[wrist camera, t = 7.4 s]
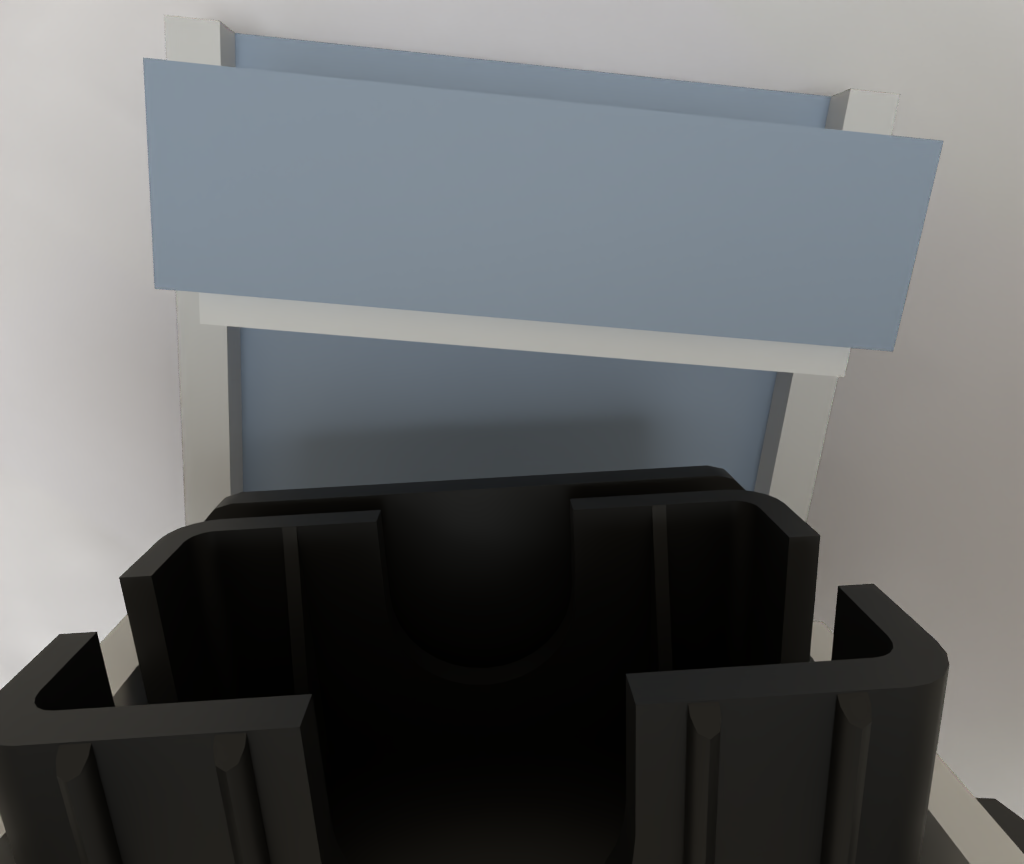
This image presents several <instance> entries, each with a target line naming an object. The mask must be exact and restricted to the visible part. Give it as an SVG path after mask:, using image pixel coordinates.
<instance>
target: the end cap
mask: <svg viewBox="0 0 1024 864" xmlns="http://www.w3.org/2000/svg"><path fill="white" fill-rule="evenodd" d="M819 543H820V535H819V534H818V533H817V532H816V531H815V530H813V529H812V528H811V527H810V526H809V525H808V524H807V523H806V522H805V521H803V520H802V519H801V518H800V517H799V516H798V515H797V514H796V513H795V512H794V511H792V510H791V509H790V508H789V507H788V506H787V505H786V504H785V503H783V502H782V501H780V500H779V499H777V498H775V497H772V496H770V495H767V494H763V493H759V492H754V491H746V490H745V489H744V488H743V487H742V486H741V485H740V484H739V483H738V482H737V481H736V480H735V479H734V478H733V477H732V476H731V475H730V474H729V473H728V472H727V471H726V470H725V469H723V468H718V467H713V466H709V465H704V466H687V467H669V468H652V469H634V470H617V471H599V472H582V473H565V474H547V475H530V476H512V477H495V478H478V479H460V480H443V481H425V482H408V483H390V484H373V485H356V486H338V487H321V488H303V489H286V490H269V491H251V492H240V493H237V494H234V495H231V496H228V497H225V498H224V499H223V500H222V501H221V502H220V503H219V504H218V505H217V506H216V508H215V509H214V510H213V511H212V512H211V513H210V515H209V516H208V517H207V518H206V519H205V521H204V522H199V523H195V524H191V525H188V526H185V527H182V528H179V529H177V530H175V531H173V532H170V533H168V534H167V535H165V536H164V537H162V538H161V539H160V540H159V541H157V542H156V543H155V544H154V545H153V546H152V547H151V548H150V549H149V550H148V551H147V552H146V553H145V554H144V555H143V556H142V557H141V558H139V559H138V560H137V561H136V562H135V563H134V564H133V565H132V566H131V567H130V568H129V569H128V570H127V571H126V572H125V573H124V574H123V575H122V576H120V577H119V579H120V583H121V588H122V592H123V596H124V601H125V605H126V609H127V614H128V618H129V623H130V627H131V631H132V636H133V640H134V645H135V649H136V653H137V658H138V662H139V667H140V671H141V675H142V680H143V684H144V688H145V693H146V697H147V702H148V705H134V706H118V707H115V704H114V700H113V696H112V692H111V688H110V684H109V680H108V676H107V672H106V667H105V663H104V659H103V655H102V651H101V647H100V643H99V639H98V635H97V632H87V633H71V634H59V635H58V636H57V637H56V638H55V639H54V640H53V641H52V642H51V643H50V644H49V645H48V646H47V647H45V648H44V649H43V650H42V651H41V652H40V653H39V654H38V655H37V656H36V657H35V658H34V659H33V660H32V661H31V662H30V663H29V664H28V665H26V666H25V667H24V668H23V669H22V670H21V671H20V672H19V673H18V674H17V675H16V676H15V677H14V678H13V679H12V680H11V681H10V682H9V683H7V684H6V685H5V686H4V687H3V688H2V689H1V690H0V815H1V818H2V822H3V825H4V828H5V831H6V834H7V837H8V841H9V844H10V847H11V850H12V853H13V857H14V860H15V863H16V864H920V858H921V851H922V844H923V838H924V831H925V824H926V818H927V811H928V804H929V797H930V791H931V784H932V777H933V771H934V764H935V757H936V751H937V744H938V737H939V731H940V724H941V717H942V710H943V704H944V697H945V690H946V684H947V677H948V670H949V662H948V657H947V653H946V652H945V650H944V649H943V648H942V647H941V646H940V644H939V643H938V642H937V641H936V640H935V639H934V638H933V637H932V636H931V635H930V634H929V633H927V632H926V631H925V630H924V629H923V628H922V627H921V626H920V625H919V624H917V623H916V622H915V621H914V620H913V619H912V618H911V617H910V616H909V615H908V614H906V613H905V612H904V611H903V610H902V609H901V608H900V607H899V606H898V605H896V604H895V603H894V602H893V601H892V600H891V599H890V598H889V597H888V596H886V595H885V594H884V593H883V592H882V591H881V590H880V589H879V588H878V587H877V586H875V585H874V584H863V585H847V586H838V593H837V604H836V615H835V625H834V636H833V646H832V657H831V661H816V662H810V650H811V638H812V626H813V614H814V603H815V591H816V579H817V567H818V555H819Z"/></svg>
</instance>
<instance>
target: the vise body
mask: <svg viewBox="0 0 1024 864" xmlns="http://www.w3.org/2000/svg"><path fill="white" fill-rule="evenodd" d="M164 27H165V51H166V60H160V59H150V58H143V64H144V84H145V104H146V124H147V144H148V164H149V184H150V203H151V223H152V243H153V263H154V283H155V289H166V290H176V311H177V334H178V358H179V381H180V405H181V429H182V452H183V476H184V500H185V523H186V526H188V525H191V524H195V523H199V522H204V521H205V519H206V518H207V517H208V516H209V515H210V513H211V512H212V511H213V510H214V509H215V508H216V506H217V505H218V504H219V503H220V502H221V501H222V500H223V499H224V498H225V497H228V496H231V495H234V494H237V493H240V492H251V491H269V490H286V489H303V488H321V487H338V486H356V485H373V484H390V483H408V482H425V481H443V480H460V479H478V478H495V477H512V476H530V475H547V474H565V473H582V472H599V471H617V470H634V469H652V468H669V467H687V466H704V465H709V466H713V467H718V468H723V469H725V470H726V471H727V472H728V473H729V474H730V475H731V476H732V477H733V478H734V479H735V480H736V481H737V482H738V483H739V484H740V485H741V486H742V487H743V488H744V489H745V490H746V491H754V492H759V493H763V494H767V495H770V496H772V497H775V498H777V499H779V500H780V501H782V502H783V503H785V504H786V505H787V506H788V507H789V508H790V509H791V510H792V511H794V512H795V513H796V514H797V515H798V516H799V517H800V518H801V519H802V520H803V521H805V522H806V521H807V517H808V512H809V508H810V503H811V498H812V494H813V489H814V485H815V480H816V476H817V471H818V467H819V462H820V458H821V453H822V448H823V444H824V439H825V435H826V430H827V426H828V421H829V417H830V412H831V407H832V403H833V398H834V394H835V389H836V385H837V380H838V377H845V373H846V368H847V364H848V359H849V355H850V350H851V348H858V349H870V350H882V351H893V350H894V346H895V341H896V337H897V333H898V329H899V325H900V321H901V316H902V312H903V308H904V304H905V300H906V295H907V291H908V287H909V283H910V279H911V275H912V270H913V266H914V262H915V258H916V254H917V249H918V245H919V241H920V237H921V233H922V229H923V224H924V220H925V216H926V212H927V208H928V203H929V199H930V195H931V191H932V187H933V183H934V178H935V174H936V170H937V166H938V162H939V157H940V153H941V149H942V145H943V141H940V140H930V139H921V138H911V137H901V136H892V135H891V134H892V130H893V125H894V121H895V116H896V112H897V107H898V103H899V98H900V94H895V93H886V92H876V91H867V90H858V89H849V90H846V91H844V92H841V93H839V94H836V95H834V96H831V97H829V96H820V95H811V94H801V93H792V92H783V91H773V90H764V89H754V88H745V87H736V86H726V85H717V84H708V83H698V82H689V81H679V80H670V79H661V78H651V77H642V76H633V75H623V74H614V73H604V72H595V71H586V70H576V69H567V68H558V67H548V66H539V65H529V64H520V63H511V62H501V61H492V60H483V59H473V58H464V57H454V56H445V55H436V54H426V53H417V52H408V51H398V50H389V49H379V48H370V47H361V46H351V45H342V44H333V43H323V42H314V41H304V40H295V39H286V38H276V37H267V36H258V35H248V34H239V33H234V32H233V31H232V30H230V29H229V28H228V27H227V26H225V25H224V24H223V23H222V22H220V21H216V20H207V19H197V18H188V17H179V16H169V15H164Z"/></svg>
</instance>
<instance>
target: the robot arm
mask: <svg viewBox="0 0 1024 864" xmlns="http://www.w3.org/2000/svg"><path fill="white" fill-rule="evenodd" d="M833 636H834V634H833V633H832V632H831V631H830V630H829V628H828V627H827V626H826V625H825V624H824V623H823V622H815V621H813V626H812V638H811V650H810V662H816V661H831V657H832V646H833ZM100 647H101V651H102V655H103V659H104V663H105V667H106V672H107V676H108V680H109V684H110V688H111V692H112V696H113V700H114V704H115V707H118V706H134V705H148V702H147V697H146V693H145V688H144V684H143V680H142V675H141V671H140V667H139V662H138V658H137V653H136V649H135V645H134V640H133V636H132V631H131V627H130V623H129V618H128V614H127V615H126V616H125V617H124V618H123V619H122V620H121V621H120V623H119V624H118V625H117V626H116V627H115V628H114V629H113V630H112V631H111V632H110V633H109V634H108V635H107V637H106V638H105V639H104V640H103V641H102V642H101V643H100ZM0 864H16V863H15V860H14V857H13V853H12V850H11V847H10V844H9V841H8V837H7V834H6V831H5V828H4V825H3V822H2V818H1V815H0ZM920 864H1024V820H1023V819H1022V818H1020V817H1019V816H1018V815H1016V814H1015V813H1014V812H1012V811H1011V810H1010V809H1008V808H1007V807H1006V806H1004V805H1003V804H1001V803H1000V802H999V801H997V800H996V799H989V798H975V797H974V796H973V795H972V794H971V792H970V791H969V790H968V789H967V788H966V787H965V786H964V784H963V783H962V782H961V781H960V780H959V779H958V777H957V776H956V775H955V774H954V773H953V772H952V771H951V769H950V768H949V767H948V766H947V765H946V764H945V762H944V761H943V760H942V759H941V758H940V757H939V755H938V754H937V753H936V757H935V764H934V771H933V777H932V784H931V791H930V797H929V804H928V811H927V818H926V824H925V831H924V838H923V844H922V851H921V858H920Z"/></svg>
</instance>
